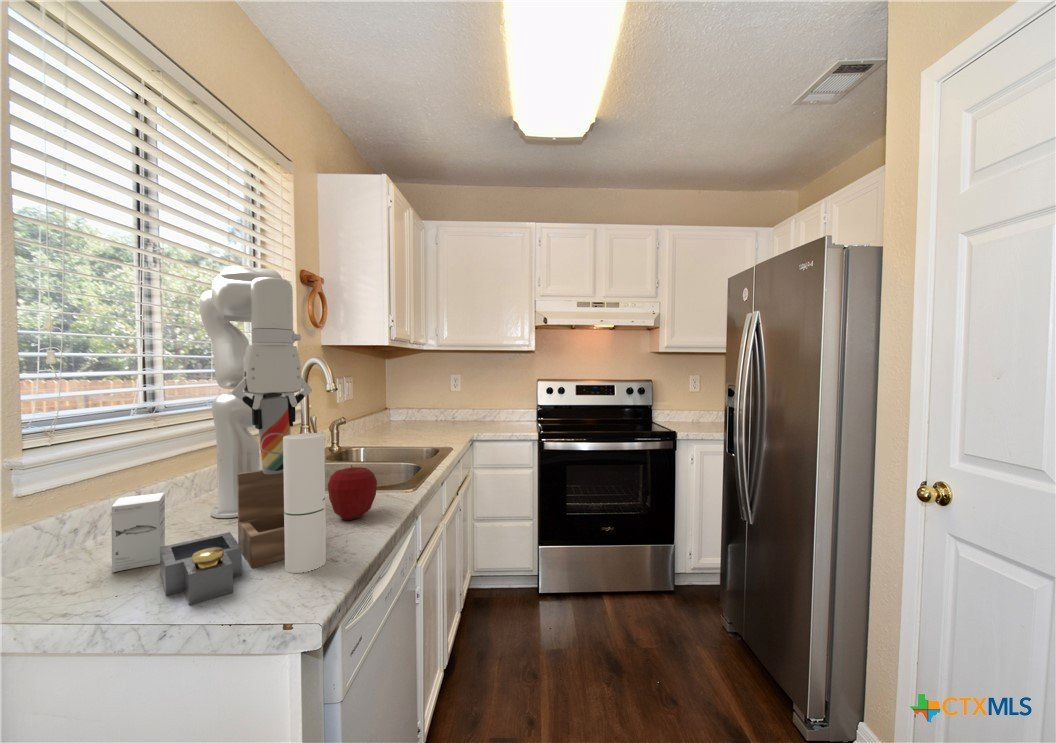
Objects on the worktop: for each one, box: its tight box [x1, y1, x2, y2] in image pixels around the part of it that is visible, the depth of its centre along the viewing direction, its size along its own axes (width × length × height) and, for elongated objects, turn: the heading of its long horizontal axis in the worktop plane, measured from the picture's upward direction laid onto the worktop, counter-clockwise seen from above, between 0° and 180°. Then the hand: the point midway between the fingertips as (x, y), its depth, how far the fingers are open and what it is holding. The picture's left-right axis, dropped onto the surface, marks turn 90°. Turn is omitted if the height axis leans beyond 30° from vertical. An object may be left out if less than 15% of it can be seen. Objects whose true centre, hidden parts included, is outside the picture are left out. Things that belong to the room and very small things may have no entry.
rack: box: [237, 469, 285, 569], centre depth 95 cm, size 12×11×16 cm
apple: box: [327, 465, 378, 521], centre depth 115 cm, size 12×12×13 cm
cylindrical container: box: [283, 432, 327, 574], centre depth 88 cm, size 7×7×25 cm
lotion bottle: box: [258, 393, 292, 474], centre depth 94 cm, size 6×6×20 cm
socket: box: [159, 531, 243, 606], centre depth 82 cm, size 18×11×5 cm, turn 43°
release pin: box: [192, 547, 224, 569], centre depth 77 cm, size 4×4×6 cm
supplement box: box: [110, 492, 166, 574], centre depth 90 cm, size 7×7×13 cm
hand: (274, 426), depth 94 cm, fingers closed on lotion bottle, 5 cm apart
